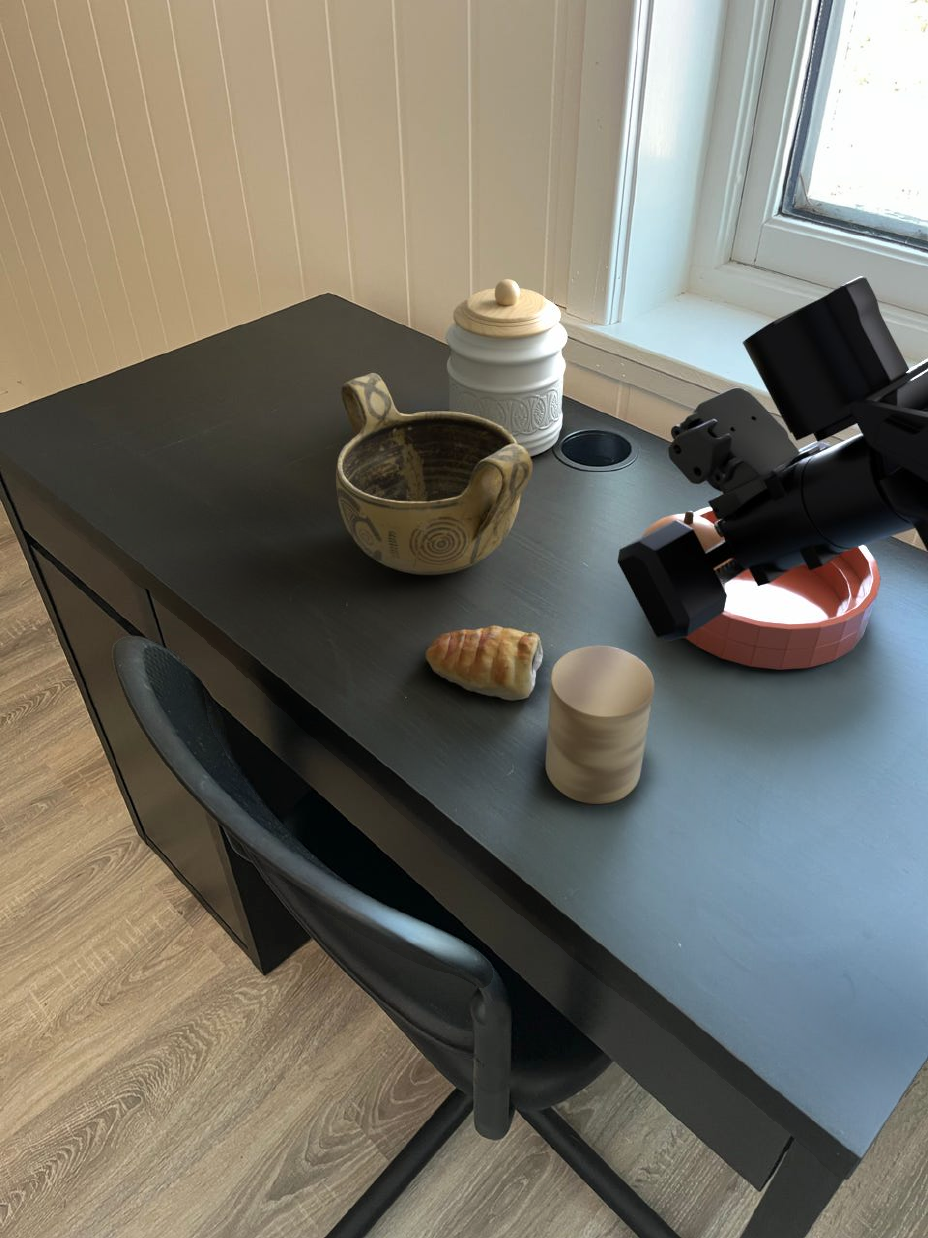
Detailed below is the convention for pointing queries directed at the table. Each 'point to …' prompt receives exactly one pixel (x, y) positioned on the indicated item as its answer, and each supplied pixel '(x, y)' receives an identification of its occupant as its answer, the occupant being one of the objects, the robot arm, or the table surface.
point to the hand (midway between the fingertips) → (664, 567)
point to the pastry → (488, 660)
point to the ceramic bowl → (426, 482)
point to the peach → (700, 526)
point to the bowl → (794, 613)
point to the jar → (509, 363)
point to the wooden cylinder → (597, 723)
